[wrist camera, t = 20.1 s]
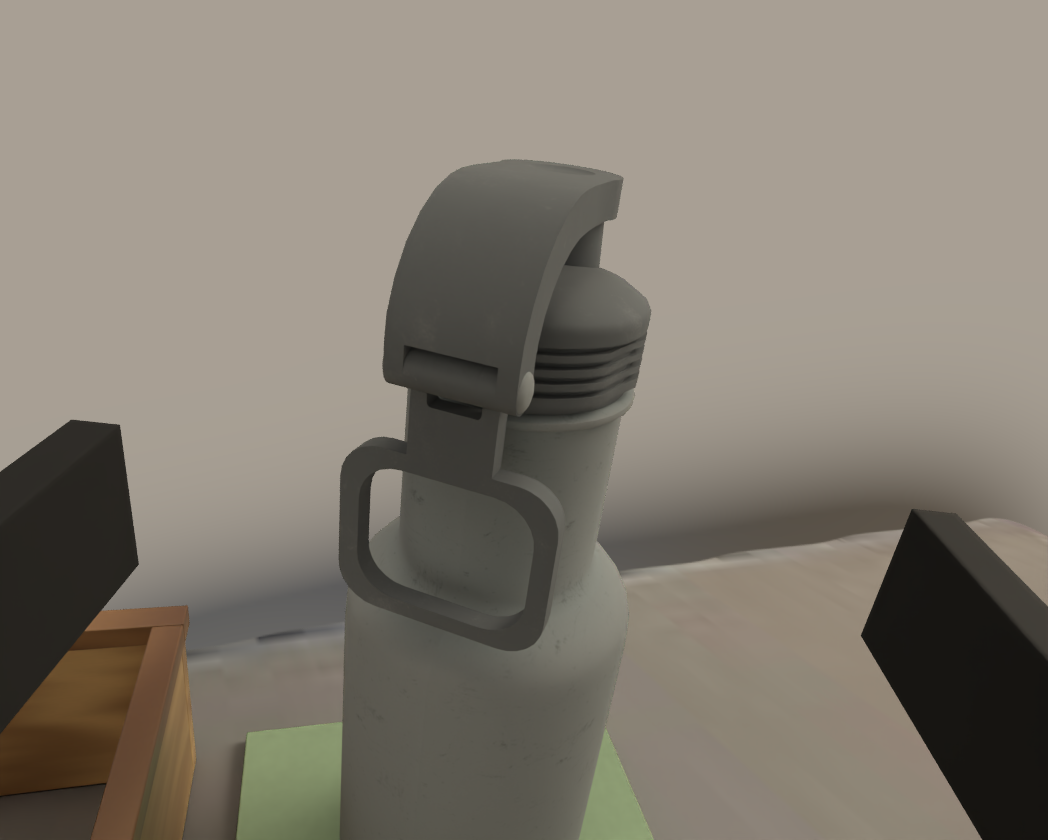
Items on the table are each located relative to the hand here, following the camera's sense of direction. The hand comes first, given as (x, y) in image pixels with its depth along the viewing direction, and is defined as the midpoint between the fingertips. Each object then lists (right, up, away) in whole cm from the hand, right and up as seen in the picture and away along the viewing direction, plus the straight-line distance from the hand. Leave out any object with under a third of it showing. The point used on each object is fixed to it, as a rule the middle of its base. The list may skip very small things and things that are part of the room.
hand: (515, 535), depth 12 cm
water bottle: (-3, -17, +19) cm, 25 cm away
